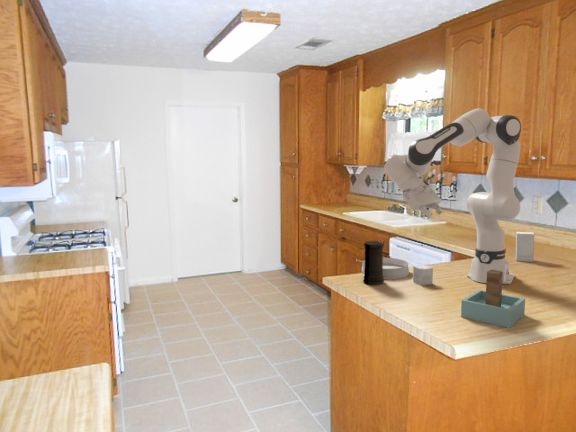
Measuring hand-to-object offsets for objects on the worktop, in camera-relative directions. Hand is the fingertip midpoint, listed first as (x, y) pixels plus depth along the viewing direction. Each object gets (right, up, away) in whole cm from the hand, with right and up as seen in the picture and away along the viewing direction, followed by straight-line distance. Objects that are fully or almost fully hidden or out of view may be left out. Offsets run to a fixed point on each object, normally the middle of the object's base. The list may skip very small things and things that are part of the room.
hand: (435, 214), depth 178 cm
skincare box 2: (+65, -24, +60) cm, 92 cm away
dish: (-11, -28, +41) cm, 51 cm away
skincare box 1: (+2, -30, +23) cm, 38 cm away
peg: (+14, -36, -18) cm, 42 cm away
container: (-20, -30, +25) cm, 44 cm away
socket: (+14, -36, -18) cm, 42 cm away
